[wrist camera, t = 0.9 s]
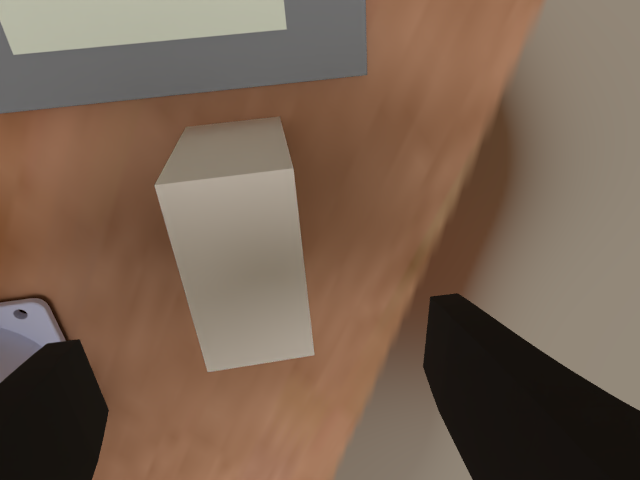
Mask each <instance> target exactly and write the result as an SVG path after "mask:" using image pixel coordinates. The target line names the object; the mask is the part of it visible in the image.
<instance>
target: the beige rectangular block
mask: <svg viewBox="0 0 640 480" xmlns="http://www.w3.org/2000/svg"><path fill="white" fill-rule="evenodd" d="M154 186H155V189H156V193H157V196H158V200H159V203H160V207H161V210H162V214H163V217H164V221H165V224H166V228H167V231H168V235H169V238H170V242H171V245H172V249H173V252H174V256H175V259H176V263H177V266H178V270H179V273H180V277H181V280H182V284H183V287H184V291H185V294H186V298H187V301H188V305H189V308H190V312H191V315H192V319H193V322H194V326H195V329H196V333H197V336H198V340H199V343H200V347H201V351H202V354H203V358H204V361H205V365H206V368H207V372H212V371H219V370H225V369H231V368H237V367H244V366H250V365H256V364H262V363H268V362H275V361H281V360H287V359H293V358H300V357H306V356H312V355H314V347H313V338H312V329H311V320H310V311H309V302H308V293H307V284H306V276H305V267H304V258H303V249H302V240H301V231H300V222H299V213H298V204H297V196H296V187H295V178H294V169H293V165H292V161H291V157H290V153H289V150H288V146H287V142H286V138H285V134H284V131H283V127H282V123H281V119H280V116H279V117H270V118H261V119H252V120H243V121H234V122H225V123H216V124H207V125H198V126H189V127H186V128H185V129H184V131H183V133H182V135H181V137H180V139H179V141H178V142H177V144H176V146H175V148H174V150H173V152H172V154H171V155H170V157H169V159H168V161H167V163H166V165H165V166H164V168H163V170H162V172H161V174H160V176H159V178H158V179H157V181H156V183H155V185H154Z"/></svg>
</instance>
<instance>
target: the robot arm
mask: <svg viewBox="0 0 640 480" xmlns="http://www.w3.org/2000/svg"><path fill="white" fill-rule="evenodd" d="M18 309H20V310H24V311H25V312H26V313H27V314H26V313H22V312H20V311H19V310H18ZM423 368H424V370H425V374H426V376H427V379H428V382H429V385H430V388H431V391H432V394H433V397H434V399H435V402H436V405H437V407H438V410H439V412H440V414H441V416H442V419H443V420H444V423H445V425H446V427H447V429H448V431H449V433H450V435H451V437H452V439H453V441H454V443H455V445H456V447H457V449H458V451H459V453H460V455H461V457H462V459H463V461H464V463H465V465H466V467H467V469H468V471H469V473H470V475H471V477H472V479H473V480H640V411H639V410H637V409H635V408H634V407H632V406H630V405H628V404H626V403H625V402H623V401H621V400H619V399H618V398H616V397H614V396H612V395H611V394H609V393H607V392H606V391H604V390H602V389H601V388H599V387H597V386H596V385H594V384H593V383H591V382H589V381H587V380H586V379H584V378H583V377H581V376H579V375H578V374H576V373H574V372H573V371H571V370H570V369H568V368H567V367H565V366H563V365H562V364H560V363H558V362H557V361H556V360H554V359H553V358H551V357H550V356H548V355H546V354H545V353H543V352H542V351H540V350H539V349H537V348H536V347H535V346H533V345H532V344H530V343H529V342H527V341H526V340H524V339H523V338H521V337H520V336H518V335H517V334H515V333H514V332H513V331H511V330H510V329H508V328H507V327H506V326H504V325H503V324H501V323H500V322H498V321H497V320H496V319H494V318H493V317H491V316H490V315H488V314H487V313H486V312H484V311H483V310H481V309H480V308H478V307H477V306H476V305H474V304H473V303H471V302H470V301H468V300H467V299H465V298H464V297H462V296H461V295H459V294H450V295H441V296H433V297H430V305H429V315H428V325H427V334H426V344H425V354H424V363H423ZM108 411H109V410H108V407H107V405H106V402H105V400H104V398H103V395H102V393H101V390H100V388H99V385H98V383H97V381H96V378H95V376H94V373H93V371H92V368H91V366H90V364H89V361H88V359H87V356H86V354H85V352H84V349H83V347H82V344H81V342H80V339H79V340H70V341H66V340H65V338H64V336H63V334H62V332H61V330H60V328H59V326H58V323H57V321H56V319H55V317H54V315H53V313H52V311H51V309H50V307H49V305H48V304H47V303H46V302H45V301H43V300H42V299H38V298H29V299H22V300H15V301H8V302H1V303H0V480H92V478H93V475H94V472H95V469H96V465H97V462H98V459H99V454H100V450H101V446H102V441H103V437H104V432H105V427H106V422H107V416H108Z"/></svg>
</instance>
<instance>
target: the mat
mask: <svg viewBox="0 0 640 480" xmlns="http://www.w3.org/2000/svg"><path fill="white" fill-rule="evenodd" d="M362 75H367V46H366V0H0V113H9V112H19V111H28V110H38V109H47V108H57V107H66V106H76V105H86V104H95V103H105V102H114V101H124V100H133V99H143V98H152V97H162V96H171V95H181V94H191V93H200V92H210V91H219V90H229V89H238V88H248V87H257V86H267V85H277V84H286V83H296V82H305V81H315V80H324V79H334V78H343V77H353V76H362Z"/></svg>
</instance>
